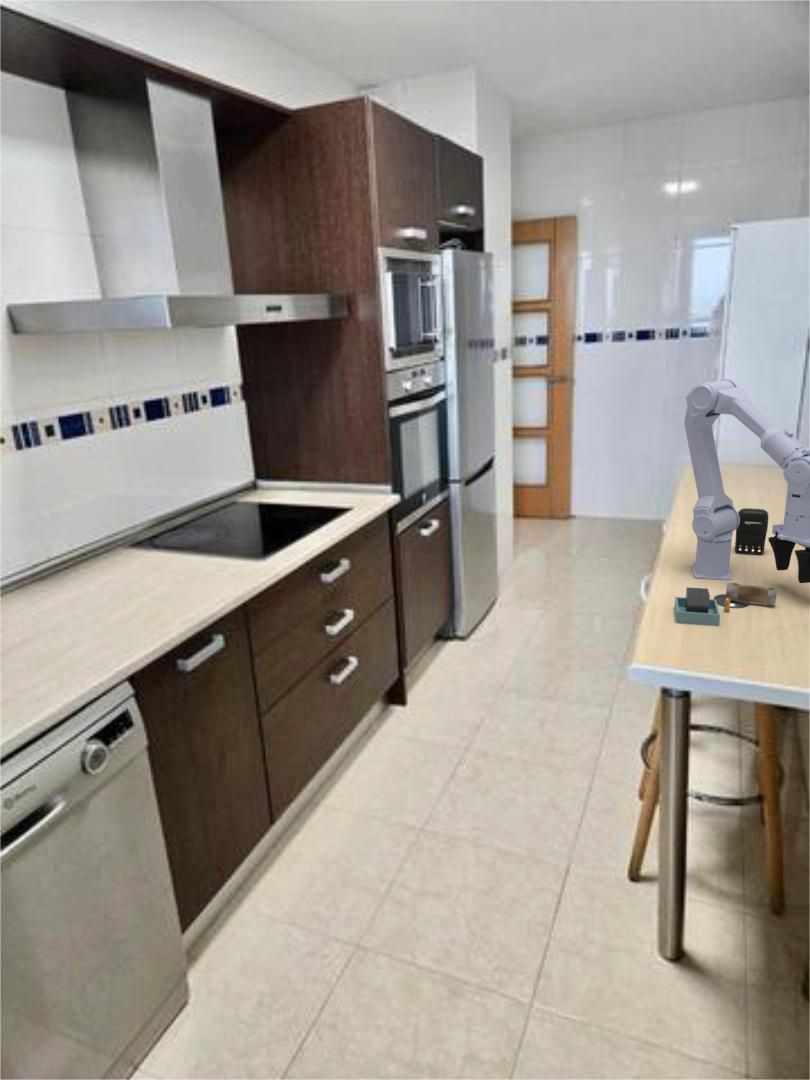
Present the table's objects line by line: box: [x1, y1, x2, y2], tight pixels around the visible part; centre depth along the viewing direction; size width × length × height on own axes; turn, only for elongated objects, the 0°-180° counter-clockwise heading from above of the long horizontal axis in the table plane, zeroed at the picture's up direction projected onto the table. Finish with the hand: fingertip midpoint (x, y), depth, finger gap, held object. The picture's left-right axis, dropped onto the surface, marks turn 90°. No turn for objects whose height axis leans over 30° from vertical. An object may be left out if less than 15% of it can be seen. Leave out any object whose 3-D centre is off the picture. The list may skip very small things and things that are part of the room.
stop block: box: [685, 587, 711, 613], centre depth 140 cm, size 4×4×5 cm
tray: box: [674, 596, 721, 627], centre depth 140 cm, size 8×8×2 cm
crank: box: [725, 582, 778, 606], centre depth 144 cm, size 9×2×3 cm, turn 62°
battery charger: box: [734, 507, 769, 556], centre depth 172 cm, size 7×4×11 cm, turn 67°
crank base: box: [713, 593, 751, 614], centre depth 145 cm, size 10×7×3 cm
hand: (792, 575), depth 146 cm, fingers open, 7 cm apart
